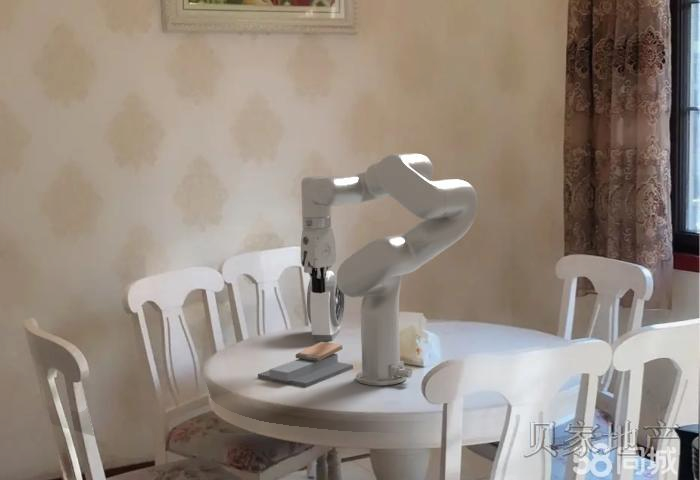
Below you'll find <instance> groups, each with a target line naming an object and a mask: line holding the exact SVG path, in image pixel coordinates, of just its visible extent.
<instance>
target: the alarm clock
mask: <svg viewBox="0 0 700 480" xmlns="http://www.w3.org/2000/svg"><path fill="white" fill-rule="evenodd" d="M324 278H325V292H324V293H313V292H312V278H311V277H310V279H309V282H308V286H307V292H306V313H307V318H308V322H309V323H310V325H311V326H310V329H311V335H312V336H314V341H319V342H329V341H330V342H332V341H334V340H335V339H336V337H337V336H338V335H339V334H340V328H341V326H342V325H343V324H342V323H343V321H344V315H345V305H346V295H345V294H344V293H342V292H341V291H340V289H339V287H338V285H337V274H335V273H334V272H333V271H332V270H327V272H326V277H324Z"/></svg>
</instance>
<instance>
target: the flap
mask: <svg viewBox="0 0 700 480" xmlns="http://www.w3.org/2000/svg"><path fill="white" fill-rule="evenodd" d="M341 350H343V344H339V343H333V342H328V341H319V342H318V343H316V344H314V345H312V346H309V347H307V348H305V349H303V350H301V351H299V352H298V353H296V354H295V359H305V360H311V361H320V360H322V359H324V358H326V357H328V356H330V355H332V354H337V352H339V351H341Z"/></svg>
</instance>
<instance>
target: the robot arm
mask: <svg viewBox="0 0 700 480" xmlns="http://www.w3.org/2000/svg"><path fill="white" fill-rule="evenodd" d="M433 176H434V165H433V163H432V161H431V160H430V159H429V158H428V157H427V156H426V155H424V154H421V153H419V152H418V153H416V152H415V153H414V152H412V153H411V152H407V153H393V154H388V155H386V156H384V157H383V158H382V159H380V161H379V162H375V163H372V164H370V165H369V166H368V167H367V168H366V171H365V172H361V173H356V174H350V175H337V176H315V175H313V176H305V177H303V178H302V179H301V182H300V183H301V184H300V186H301V217H302V220H301V223H302V231H301V240H300V264H301V267H303V272H304V273H305V274H308V275H309V277H310V279H311V278H312V292H313V293H324V292H325V278H324V277H326V272H327V271H329V269H331V268H332V267H333V265H335V263H337V250H336V239H335V232H334V229H333V227H332V217H331V216H332V212H331V211H332V209H331V207H339V206H346V205H356V204H361V203H365V202H369V201H373V200H376V199H377V200H378V199H383V198H386V197H390V196H391V197H392V198H393V199H394V200H395V201H396V202H398V203H399V204H400V205H402V206H403V207H404V208H405V209H407V210H408V211H409V212H410V213H412V214H413V215H415V216H416V217H418V218H421V219H423V220H422V221H420V222H418V223H417V224H416V225H415V226H414V227H412V228H411V229H409V230H407V231H406V232H403V233H399V234H394V235H389V236H383V237H378V238H376V239H374V240H372V241H370V242H368V243H366V244H365V245H364V246H362V247H361V248H360V249H359V250H357V251H355V252H354V253H353V254H351V255H350V256H349V257H347V258H346V259H345V260H344V261H343V262H342V263H341V264H340V265H339V267H338V270H337V272H336V275H337V285H338V287H339V289H340V291H341V292H342V293H344V294H345V296H347V297H350V298H362V300H361V305H360V337H361V339H360V341H361V368H362V369H361V370H360V371H359V372H357V373H356V376H355V377H356V378H355V379H356V381H357V382H358V383H361V384H363V385H369V386H390V385H391V386H392V385H398V384H400V383H402V382H404V381H406V380H407V379H410V378H412V375H413V371H414V370H413V368H412V367H405V360H401V349H400V348H401V347H400V292H401V285H402V279H403V275H407V274H411V273H413V272H415V271H417V270H418V269H419V268H421V267H423V265H425V264H426V263H428V262H429V261H431V260H432V259H434V258H435V257H437V256H438V255H440V253H442V252H444V251H445V250H446V249H448V248H449V247H451V246H452V245H454V244H455V243H457V242H458V241H459V240H460V239H462V238H463V237H464V236H465V235H466V234H467V233H468V231H469V230H470V228H471V227H472V225H473V224H474V222H475V220H476V217H477V213H478V209H479V207H478V206H479V200H478V194H477V191H476V190H475V188H474V186H473V185H472V184H470V183H469V182H467V181H466V180H465V181H464V180H462V179H457V178H449V179H447V178H446V179H438V180H437V179H436V180H432V179H433Z"/></svg>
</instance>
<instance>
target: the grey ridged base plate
mask: <svg viewBox="0 0 700 480" xmlns="http://www.w3.org/2000/svg"><path fill="white" fill-rule="evenodd" d="M338 358H339V356H338V353H334V354H332V355H330V356H328V357H326V358H324V359H322V360H320V361H311V360H305V359H299V358H296V359H295V360H292V361H289V362H286V363H283V364H282V365H279V366H278V365H277V366H275V367H273V368H270V369H269V370H265V371H263V372H260V373H258V374H257V379H262V380H266V381H272V382H277V383H281V382H282V384H287V383H288V385H292V384H293V386H297V387H298V386H299V387H304V388H308V387H311V386H314V385H315V384H319V383H321V382H323V381H326V380H328V379H330V378H333V377H336V376H338V375H340V374H342V373H345V372H347V371H350V370H353V369H354V365H353V364H351V363H345V362H339V361H338Z"/></svg>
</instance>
